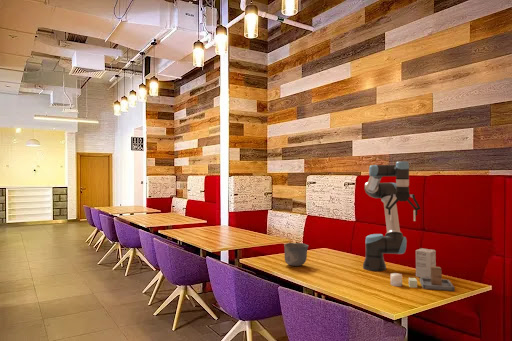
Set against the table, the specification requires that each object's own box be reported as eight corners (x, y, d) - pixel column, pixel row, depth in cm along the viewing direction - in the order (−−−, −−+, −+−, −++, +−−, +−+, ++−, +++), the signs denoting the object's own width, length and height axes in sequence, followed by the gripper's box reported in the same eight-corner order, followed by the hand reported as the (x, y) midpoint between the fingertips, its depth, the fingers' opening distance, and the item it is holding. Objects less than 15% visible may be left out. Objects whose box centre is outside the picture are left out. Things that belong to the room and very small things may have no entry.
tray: (419, 281, 226) (419, 277, 226) (448, 283, 221) (448, 279, 221) (423, 288, 211) (423, 284, 211) (454, 291, 206) (454, 287, 206)
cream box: (408, 284, 220) (408, 277, 220) (416, 285, 218) (415, 278, 218) (409, 287, 214) (409, 280, 214) (417, 288, 213) (417, 281, 213)
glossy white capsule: (390, 282, 223) (390, 272, 223) (401, 283, 221) (401, 273, 221) (390, 285, 217) (390, 275, 217) (402, 286, 215) (402, 276, 215)
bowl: (312, 264, 268) (312, 243, 269) (304, 270, 253) (303, 248, 253) (289, 262, 277) (289, 241, 277) (280, 267, 261) (279, 245, 261)
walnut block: (430, 283, 219) (430, 266, 219) (440, 283, 218) (439, 266, 218) (432, 285, 214) (432, 268, 215) (441, 286, 213) (441, 268, 213)
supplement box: (421, 273, 243) (421, 247, 243) (436, 276, 236) (436, 249, 236) (415, 276, 236) (415, 250, 236) (430, 279, 229) (430, 252, 230)
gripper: (381, 186, 231) (381, 220, 231) (425, 186, 224) (425, 221, 224) (381, 185, 238) (381, 219, 238) (423, 186, 231) (423, 220, 231)
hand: (402, 220), depth 231 cm, fingers open, 13 cm apart
